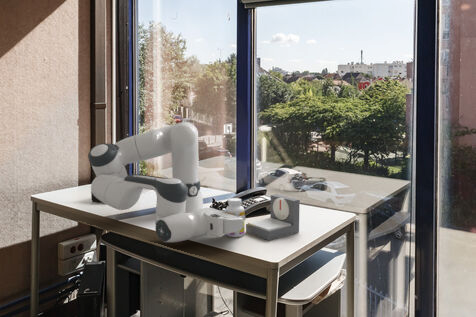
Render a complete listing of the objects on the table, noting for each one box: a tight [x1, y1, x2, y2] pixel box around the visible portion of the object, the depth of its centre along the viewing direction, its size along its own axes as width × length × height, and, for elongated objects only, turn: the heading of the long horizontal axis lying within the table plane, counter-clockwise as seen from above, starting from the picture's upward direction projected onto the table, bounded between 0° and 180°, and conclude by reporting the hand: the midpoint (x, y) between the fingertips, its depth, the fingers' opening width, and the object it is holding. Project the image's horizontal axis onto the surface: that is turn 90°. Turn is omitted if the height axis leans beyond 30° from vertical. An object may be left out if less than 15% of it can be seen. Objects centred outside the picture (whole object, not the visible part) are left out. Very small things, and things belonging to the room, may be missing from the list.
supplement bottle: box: [224, 197, 245, 238], centre depth 141 cm, size 7×7×13 cm
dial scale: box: [245, 194, 301, 241], centre depth 144 cm, size 12×15×12 cm
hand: (237, 215), depth 141 cm, fingers closed on supplement bottle, 7 cm apart
